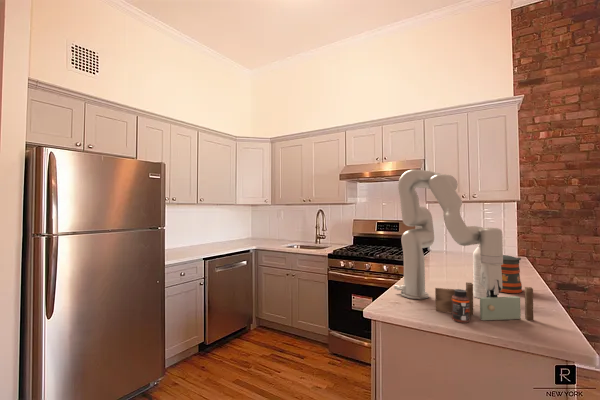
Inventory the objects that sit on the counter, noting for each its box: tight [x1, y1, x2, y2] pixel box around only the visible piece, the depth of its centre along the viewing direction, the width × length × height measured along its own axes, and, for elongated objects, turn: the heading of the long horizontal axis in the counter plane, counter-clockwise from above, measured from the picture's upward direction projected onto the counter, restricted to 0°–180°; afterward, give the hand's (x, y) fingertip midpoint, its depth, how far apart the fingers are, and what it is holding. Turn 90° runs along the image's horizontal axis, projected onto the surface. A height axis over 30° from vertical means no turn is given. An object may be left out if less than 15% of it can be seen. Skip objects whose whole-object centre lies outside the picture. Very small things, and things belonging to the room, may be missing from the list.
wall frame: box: [434, 282, 534, 322], centre depth 123 cm, size 34×3×12 cm, turn 71°
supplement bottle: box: [451, 288, 471, 324], centre depth 118 cm, size 6×6×11 cm
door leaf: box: [479, 296, 522, 321], centre depth 117 cm, size 15×3×8 cm, turn 94°
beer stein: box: [499, 254, 523, 295], centre depth 159 cm, size 19×15×20 cm
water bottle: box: [472, 244, 487, 299], centre depth 147 cm, size 9×6×25 cm
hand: (492, 306), depth 122 cm, fingers closed
